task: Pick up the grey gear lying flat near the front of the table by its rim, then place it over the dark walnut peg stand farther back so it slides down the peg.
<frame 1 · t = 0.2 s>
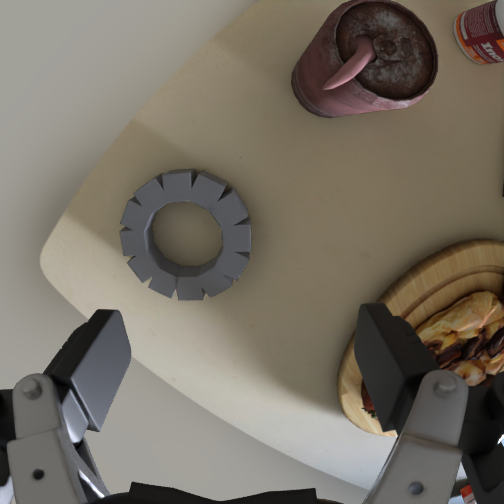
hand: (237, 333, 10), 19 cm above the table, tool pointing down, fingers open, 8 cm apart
medicine box: (474, 484, 59), on the table
wooden plate: (446, 348, 35), on the table
gear: (188, 232, 29), on the table
can: (324, 85, 24), on the table
pill bottle: (472, 39, 21), on the table
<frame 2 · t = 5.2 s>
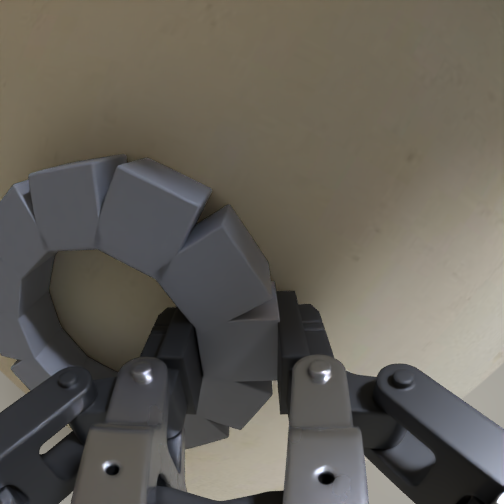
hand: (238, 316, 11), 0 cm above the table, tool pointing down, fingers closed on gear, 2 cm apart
gear: (122, 311, 11), on the table, touching gripper
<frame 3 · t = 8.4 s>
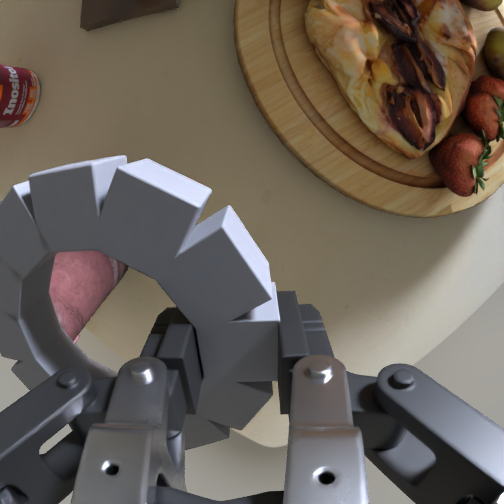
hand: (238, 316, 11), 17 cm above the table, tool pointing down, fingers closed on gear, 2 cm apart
wooden plate: (411, 46, 21), on the table
gear: (123, 312, 11), point 17 cm above the table, touching gripper
can: (105, 252, 29), on the table
pill bottle: (22, 97, 23), on the table
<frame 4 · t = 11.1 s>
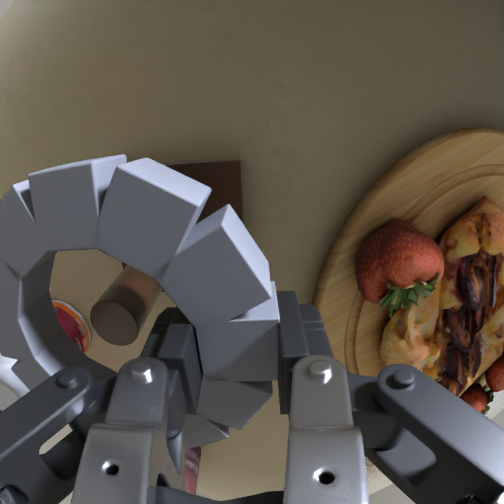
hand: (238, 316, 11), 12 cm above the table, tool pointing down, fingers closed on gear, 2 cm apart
peg stand: (181, 225, 22), on the table
wooden plate: (464, 300, 25), on the table
gear: (122, 311, 11), point 12 cm above the table, touching gripper
can: (177, 443, 32), on the table
pill bottle: (66, 324, 26), on the table
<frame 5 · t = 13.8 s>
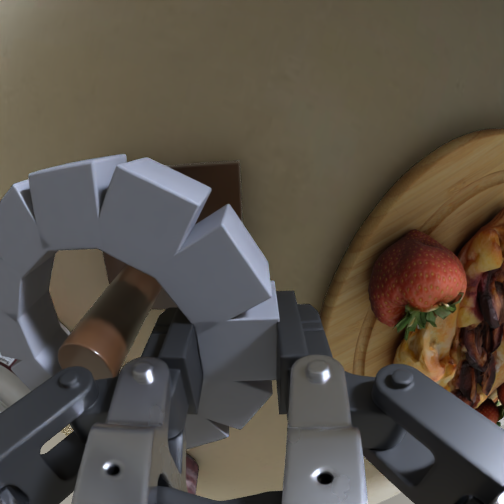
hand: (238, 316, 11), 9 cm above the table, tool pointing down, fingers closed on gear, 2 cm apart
peg stand: (172, 236, 20), on the table
wooden plate: (479, 313, 22), on the table
gear: (122, 311, 11), point 9 cm above the table, touching gripper
can: (174, 459, 30), on the table
pill bottle: (54, 339, 23), on the table
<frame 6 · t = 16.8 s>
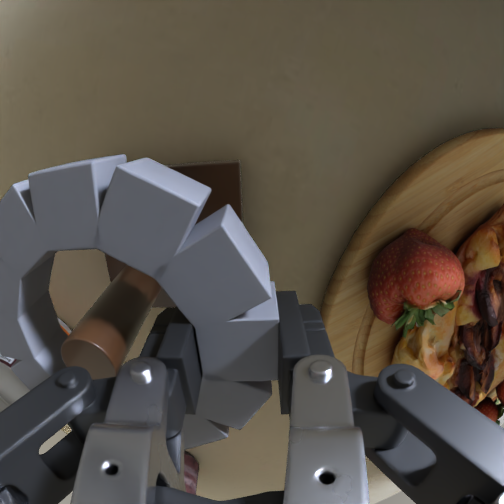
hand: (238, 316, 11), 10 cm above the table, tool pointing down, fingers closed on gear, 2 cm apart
peg stand: (173, 235, 20), on the table
wooden plate: (478, 312, 23), on the table
gear: (122, 311, 11), point 9 cm above the table, touching gripper
can: (174, 458, 30), on the table
pill bottle: (55, 337, 24), on the table
when the fingers open (11 cm above the table, at t = 17.2 s): gear drops 9 cm, resting on peg stand.
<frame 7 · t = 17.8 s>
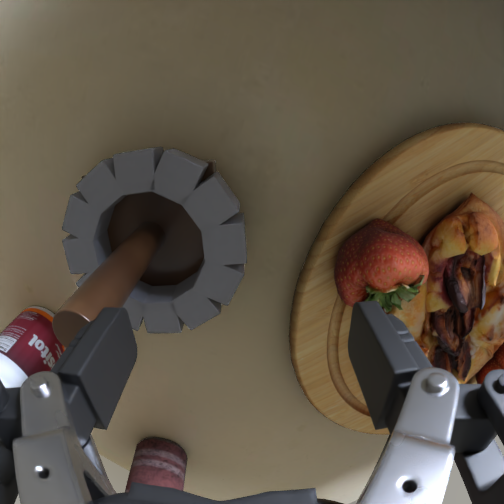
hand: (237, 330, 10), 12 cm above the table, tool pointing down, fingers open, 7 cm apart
peg stand: (155, 229, 21), on the table
wooden plate: (453, 302, 25), on the table
gear: (156, 238, 20), point 1 cm above the table, touching peg stand
can: (163, 449, 31), on the table
pill bottle: (48, 330, 25), on the table
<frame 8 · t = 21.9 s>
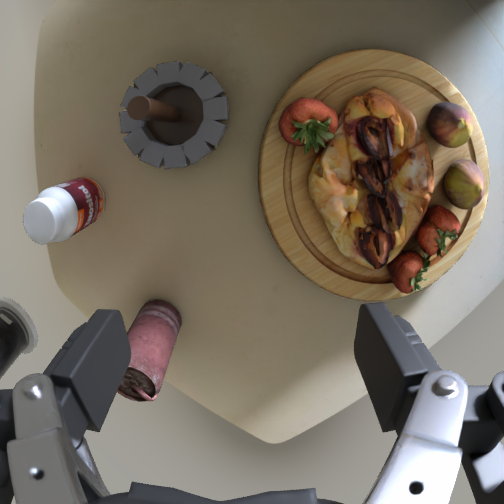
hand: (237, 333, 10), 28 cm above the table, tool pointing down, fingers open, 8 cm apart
peg stand: (175, 115, 33), on the table
wooden plate: (386, 177, 36), on the table
gear: (176, 115, 32), point 1 cm above the table, touching peg stand
can: (162, 316, 43), on the table
pill bottle: (87, 199, 37), on the table
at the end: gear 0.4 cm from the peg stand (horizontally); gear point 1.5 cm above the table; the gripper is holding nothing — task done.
